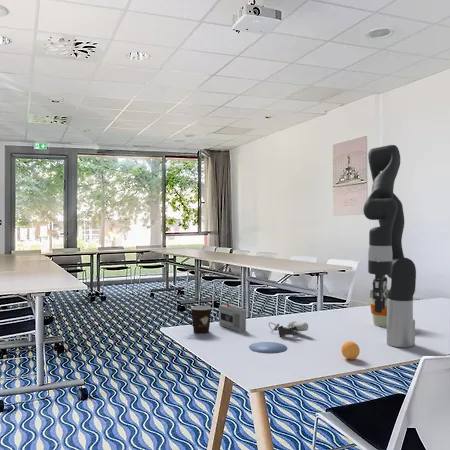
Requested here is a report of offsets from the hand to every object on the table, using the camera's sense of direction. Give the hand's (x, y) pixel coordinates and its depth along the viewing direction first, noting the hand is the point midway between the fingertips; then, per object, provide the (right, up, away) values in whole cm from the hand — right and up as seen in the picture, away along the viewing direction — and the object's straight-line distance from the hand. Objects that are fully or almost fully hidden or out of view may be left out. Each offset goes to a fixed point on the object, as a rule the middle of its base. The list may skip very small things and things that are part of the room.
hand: (379, 310), depth 150 cm
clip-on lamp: (-26, -17, +39) cm, 50 cm away
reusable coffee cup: (+21, -17, +55) cm, 61 cm away
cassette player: (-48, -17, +49) cm, 70 cm away
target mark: (-35, -17, +18) cm, 43 cm away
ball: (-8, -14, +5) cm, 17 cm away
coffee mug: (-62, -17, +42) cm, 77 cm away
